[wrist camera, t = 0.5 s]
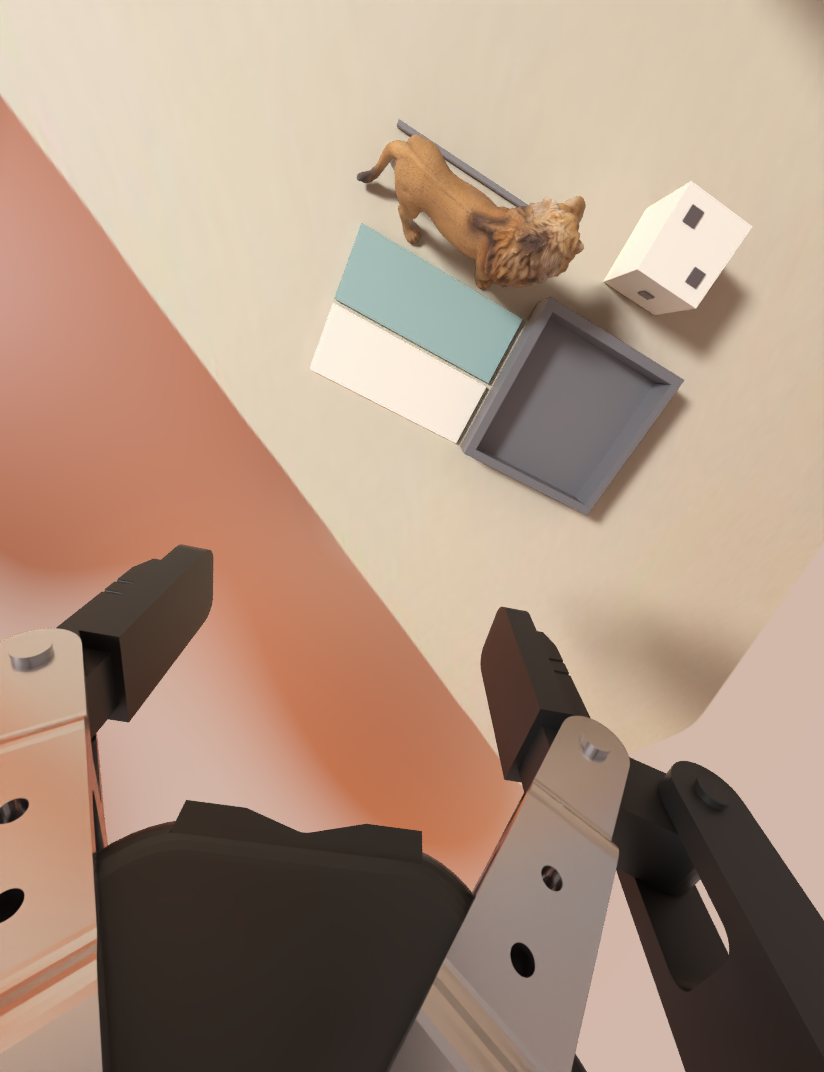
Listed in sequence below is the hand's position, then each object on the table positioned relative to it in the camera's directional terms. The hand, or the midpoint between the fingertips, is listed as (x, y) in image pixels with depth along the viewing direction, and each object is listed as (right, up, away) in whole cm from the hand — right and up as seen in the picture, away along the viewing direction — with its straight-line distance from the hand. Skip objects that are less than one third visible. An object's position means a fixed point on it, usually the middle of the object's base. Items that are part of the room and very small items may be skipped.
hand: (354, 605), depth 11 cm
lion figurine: (+5, +24, +18) cm, 31 cm away
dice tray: (+14, +12, +23) cm, 30 cm away
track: (+3, +19, +20) cm, 28 cm away
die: (+19, +22, +19) cm, 35 cm away
